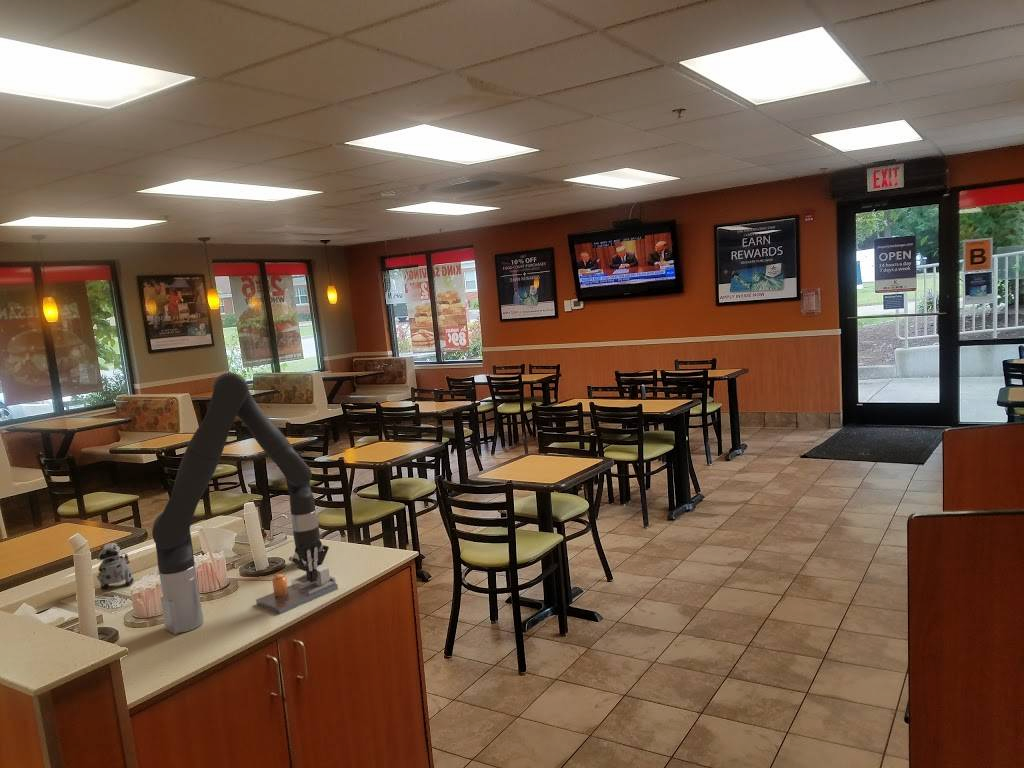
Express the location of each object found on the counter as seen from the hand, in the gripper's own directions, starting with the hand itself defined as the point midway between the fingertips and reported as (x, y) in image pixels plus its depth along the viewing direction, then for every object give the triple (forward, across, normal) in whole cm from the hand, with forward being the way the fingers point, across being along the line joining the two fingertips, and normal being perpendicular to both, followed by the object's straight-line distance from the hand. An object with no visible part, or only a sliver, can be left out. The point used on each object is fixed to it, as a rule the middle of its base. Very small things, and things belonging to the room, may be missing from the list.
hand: (313, 581), depth 219 cm
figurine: (+4, -33, +68) cm, 75 cm away
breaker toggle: (+3, +4, 0) cm, 4 cm away
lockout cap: (+3, -7, +6) cm, 10 cm away
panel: (+4, -4, +3) cm, 6 cm away
